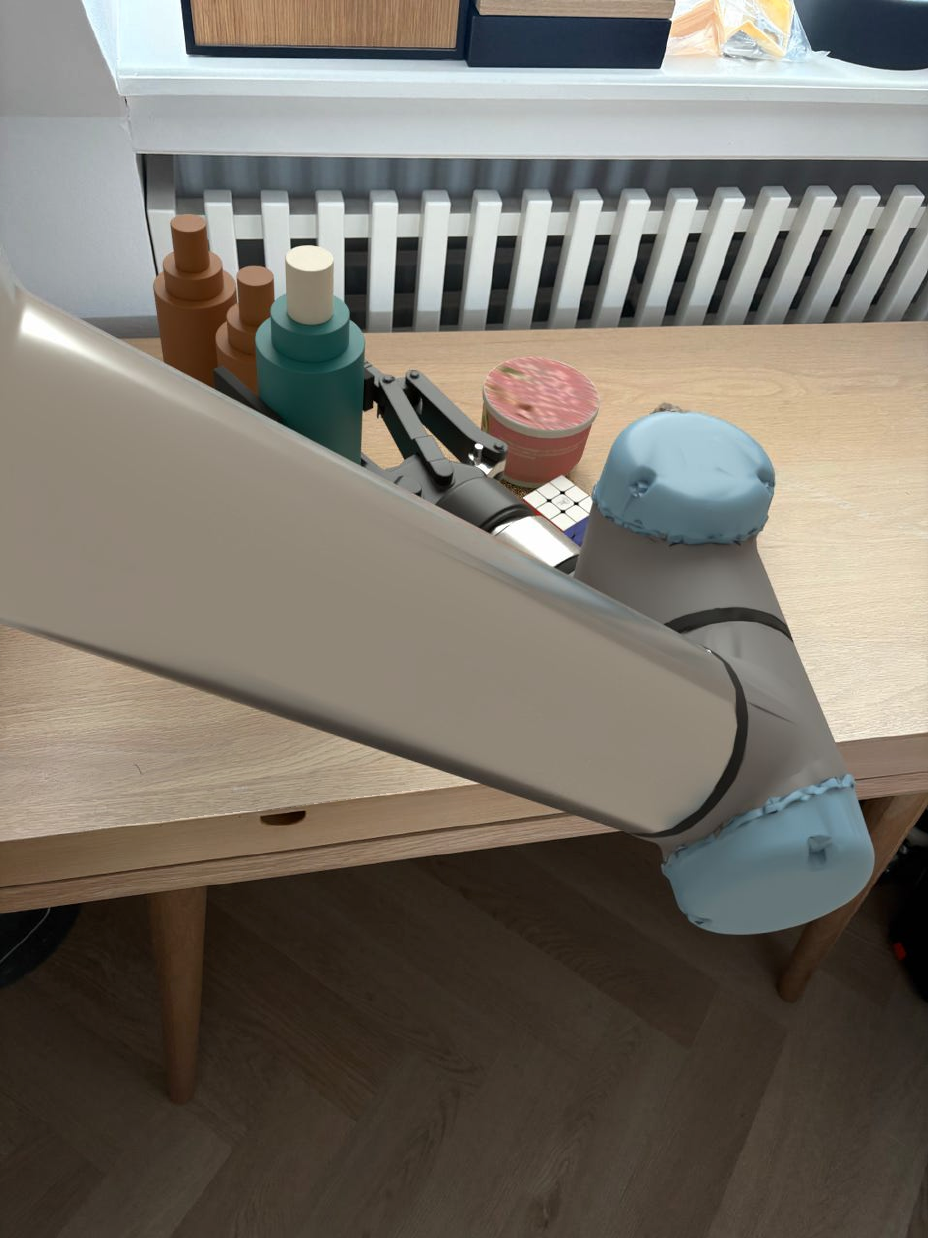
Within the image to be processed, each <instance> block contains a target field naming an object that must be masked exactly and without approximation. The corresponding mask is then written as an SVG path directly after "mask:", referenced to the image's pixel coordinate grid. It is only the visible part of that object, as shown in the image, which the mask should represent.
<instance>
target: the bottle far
mask: <svg viewBox="0 0 928 1238" xmlns="http://www.w3.org/2000/svg"><path fill="white" fill-rule="evenodd" d="M169 225H170V234H171V241H172V249H173V251H172V252H170V253H168V254H167V255H166V256H165V257H164V258H163V260H162V271H161V272H159V274H158V275H156V277H155V278H154V281H153V282H152V283H153V285H152V290H153V297H154V303H155V304H154V305H155V311H156V318H157V325H158V332H159V338H160V339H159V341H160V346H161V353H162V360H163V361H162V362H164V363H165V364H167V365H169V366H171V367H173V368H175V369H177V370H179V371H181V372H183V373H184V374H186V375H188V376H190V377H192V378H194V379H196V380H198V381H200V382H202V383H204V384H205V385H207V386H209V387H211V388H213V389H215V385H214V375H213V369H215V368H218V363H217V352H216V341H215V336H216V333H217V330H218V329H219V327H220V326H221V325H222V324H223V323H225V322H226V321H227V319H226V316H227V312H228V310H229V309H230V308H231V307H232V306H233V305H235V304H237V303H238V291H237V281H236V279H235V278H234V277H233V276H232V274H230V273H229V272H228V271H227V270H225V269H224V268H223V266H224V265H223V261H222V259H221V258H220V256H219V255H217V254H216V253H214V251H213V252H212V251H211V250H210V248H209V239H208V237H209V236H208V227H207V221H206V220H205V218H203V217H202V216H200V215H197V214H193V213H182V214H179V215H176V216H174V217H173V218H172V219H171V220H170V223H169Z"/></svg>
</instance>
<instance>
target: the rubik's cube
mask: <svg viewBox="0 0 928 1238" xmlns="http://www.w3.org/2000/svg"><path fill="white" fill-rule="evenodd" d="M521 500H522V501H524V502H525V503H526V504H527V505H529V506H530V507H531V508H532V509H533V511H534V512H535V516H542V517H543V518H545V519H547V520H548V521H549V522H550V523H552V524H553V525H554V526H555V527H556V528H558V529H559V530H560V531H561V532H562V533H564V534H565V535H566V536H567V537H568V538H569V539H571V540H572V541H573V542H574V543H575V544H577V545H578V546H579V547H580V548H581V545H582V541H583V537H584V533H585V529H586V525H587V521H588V518H589V514H590V510H591V506H592V502H593V501H592V499H591V495H589V494H588V493H586V492H585V491H584V490H583V489H581V488H580V487H579V486H577V485H576V484H575V483H573V482H572V481H571V480H570V479H569V478H567V477H566V476H563V475H561V476H559V477H557V478H555V479H554V480H552V481H550V482H548V483H547V484H545V485H543V486H542V487H540V488H535V490H532V491H531V492H530V493H527V494H526V495H524V496H523V497H521Z"/></svg>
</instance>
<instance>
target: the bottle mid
mask: <svg viewBox="0 0 928 1238" xmlns="http://www.w3.org/2000/svg"><path fill="white" fill-rule="evenodd" d="M235 277H236V290H237V304H235V305H233V306H232V307H231V308H230V309H229V310H228V312H227V316H226V319H227V321H226V322H225V323H223V324H222V325H221V326H220V327H219V329H218V330H217V333H216V336H215V341H216V352H217V363H218V367H220V366H224V367H225V368H226V369H227V370H228V371H229V372H231V373H232V374H233V375H234V376H235V377H236V378H237V379H238V380H240V381H241V382H242V383H243V384H244V385H245V386H246V387H248V388H249V389H250V390H251V391H252V392H253V393H254V394H255V395H257V396H258V380H257V363H256V347H255V336H256V332H257V330H258V328H259V327H260V325H261V324H262V323H263V322H264V321H266V320H267V319H268V318H270V309H271V306H272V304H273V302H274V301H275V300H276V298H275V297H276V296H275V276H274V273H273V271H271V269H269V268H267V267H264V266H261V265H247V266H244V267H242V268H240V269H239V270H238V271H237V272H236V276H235ZM258 397H259V396H258Z"/></svg>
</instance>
